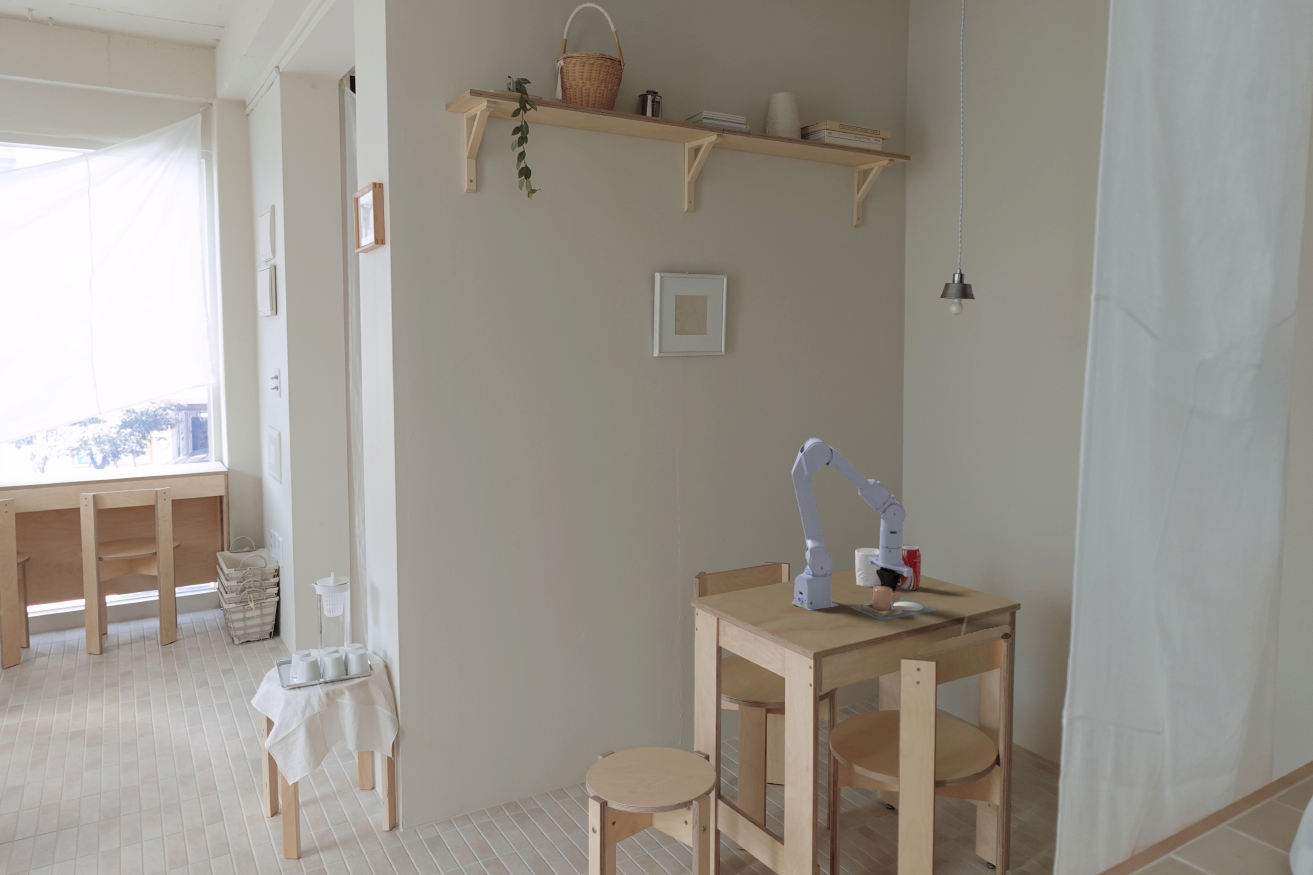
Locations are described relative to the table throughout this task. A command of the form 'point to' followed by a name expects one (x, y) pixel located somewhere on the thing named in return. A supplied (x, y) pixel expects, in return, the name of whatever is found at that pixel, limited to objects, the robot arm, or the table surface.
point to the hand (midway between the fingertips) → (888, 596)
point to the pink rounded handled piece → (884, 598)
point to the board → (904, 604)
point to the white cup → (866, 567)
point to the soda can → (912, 560)
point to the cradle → (884, 613)
